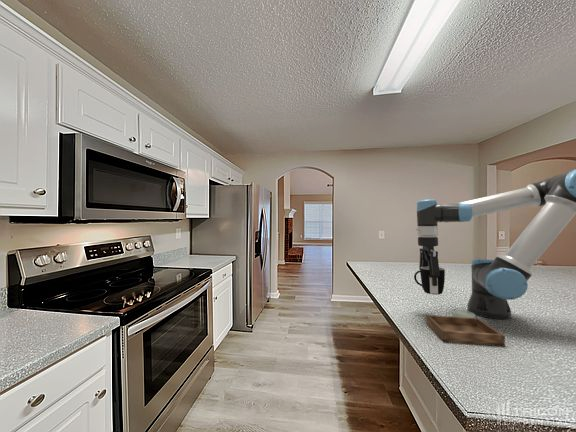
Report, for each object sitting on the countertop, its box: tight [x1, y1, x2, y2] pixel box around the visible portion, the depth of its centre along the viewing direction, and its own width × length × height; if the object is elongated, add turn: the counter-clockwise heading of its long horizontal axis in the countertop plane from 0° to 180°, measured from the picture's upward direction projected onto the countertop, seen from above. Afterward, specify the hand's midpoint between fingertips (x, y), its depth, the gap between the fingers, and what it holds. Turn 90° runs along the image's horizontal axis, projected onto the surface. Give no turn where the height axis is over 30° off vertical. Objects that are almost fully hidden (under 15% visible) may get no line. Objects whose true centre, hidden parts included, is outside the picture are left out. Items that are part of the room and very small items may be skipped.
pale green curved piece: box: [452, 309, 476, 318], centre depth 102 cm, size 7×7×4 cm
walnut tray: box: [426, 315, 506, 347], centre depth 91 cm, size 18×15×3 cm
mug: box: [413, 266, 446, 296], centre depth 110 cm, size 12×9×10 cm
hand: (429, 290), depth 109 cm, fingers closed on mug, 9 cm apart
